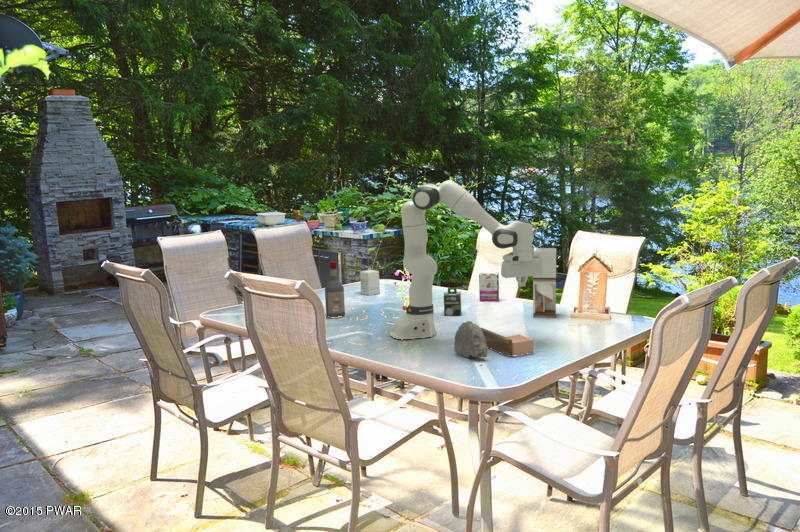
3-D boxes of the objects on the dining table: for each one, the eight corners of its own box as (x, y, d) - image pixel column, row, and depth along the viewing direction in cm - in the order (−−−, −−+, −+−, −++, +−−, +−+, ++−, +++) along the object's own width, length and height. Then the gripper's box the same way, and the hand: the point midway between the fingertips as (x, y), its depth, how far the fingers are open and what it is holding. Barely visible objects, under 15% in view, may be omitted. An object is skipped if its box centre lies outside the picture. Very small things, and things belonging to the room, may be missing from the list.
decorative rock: (452, 353, 268) (452, 319, 266) (465, 350, 271) (464, 317, 269) (477, 362, 254) (476, 326, 252) (489, 359, 258) (489, 324, 255)
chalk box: (461, 312, 345) (460, 285, 342) (461, 315, 336) (460, 288, 333) (444, 312, 346) (443, 285, 343) (443, 316, 337) (443, 288, 334)
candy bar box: (499, 300, 372) (499, 273, 369) (498, 302, 367) (498, 274, 365) (480, 299, 375) (480, 272, 373) (479, 301, 370) (478, 274, 368)
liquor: (346, 317, 341) (343, 262, 336) (329, 319, 338) (327, 264, 333) (341, 313, 349) (338, 260, 345) (325, 315, 346) (322, 261, 341)
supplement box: (371, 292, 409) (370, 269, 407) (380, 293, 402) (379, 270, 400) (360, 294, 404) (359, 271, 401) (368, 296, 397) (368, 272, 394)
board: (507, 356, 261) (507, 340, 260) (477, 343, 282) (477, 328, 281) (511, 356, 262) (511, 339, 261) (481, 342, 283) (481, 327, 282)
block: (513, 357, 261) (513, 343, 260) (500, 351, 270) (499, 337, 269) (533, 353, 265) (533, 339, 264) (519, 347, 274) (519, 334, 273)
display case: (533, 317, 327) (533, 251, 322) (533, 313, 337) (533, 248, 332) (555, 318, 324) (556, 251, 319) (555, 313, 334) (556, 248, 329)
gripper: (537, 254, 289) (536, 283, 291) (499, 256, 281) (498, 286, 283) (545, 255, 283) (544, 285, 285) (507, 258, 275) (506, 289, 277)
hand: (521, 286), depth 284 cm, fingers closed
